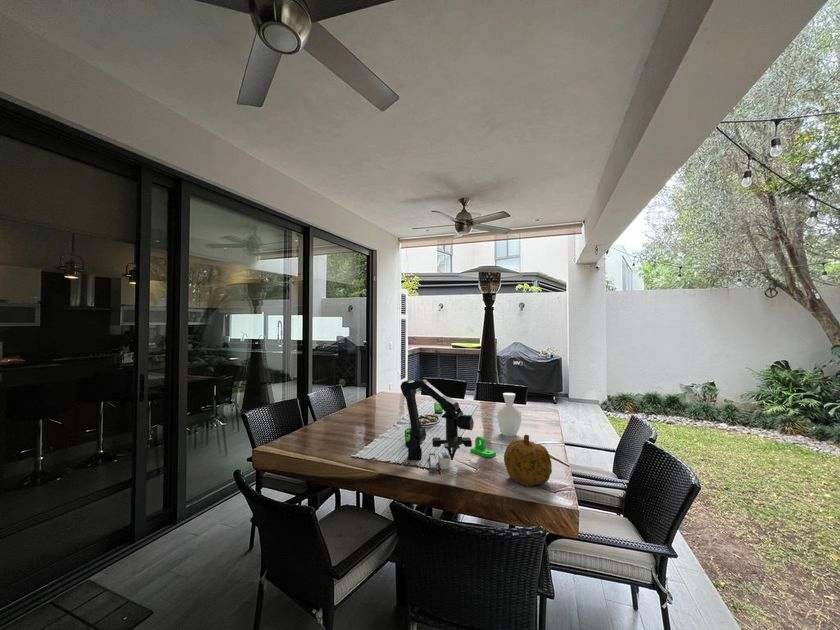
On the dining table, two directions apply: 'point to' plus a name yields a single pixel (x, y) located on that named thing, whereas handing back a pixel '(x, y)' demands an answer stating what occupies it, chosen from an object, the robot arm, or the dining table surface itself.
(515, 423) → the vase
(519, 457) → the decorative pumpkin
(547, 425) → the dining table surface
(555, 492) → the dining table surface
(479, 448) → the mechanical part
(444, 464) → the block
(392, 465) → the dining table surface
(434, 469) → the rail
